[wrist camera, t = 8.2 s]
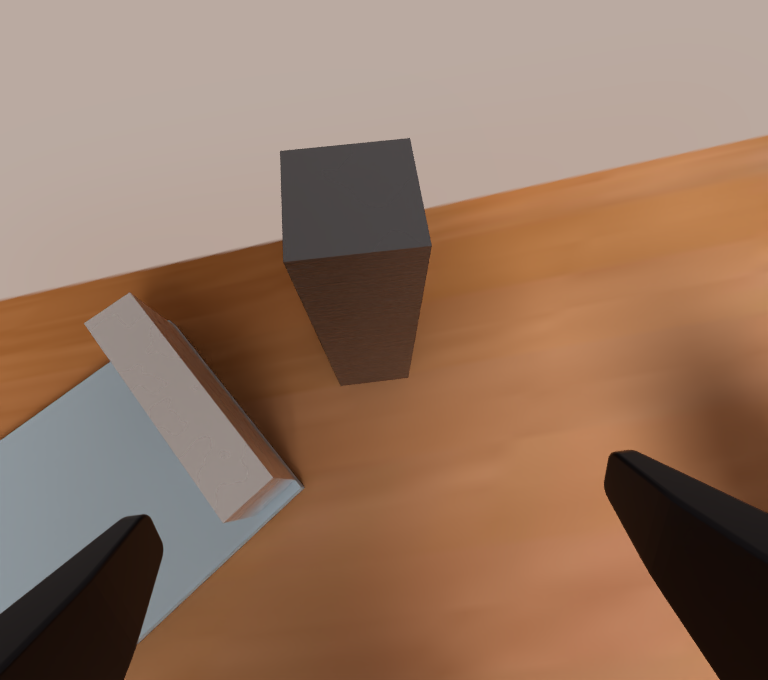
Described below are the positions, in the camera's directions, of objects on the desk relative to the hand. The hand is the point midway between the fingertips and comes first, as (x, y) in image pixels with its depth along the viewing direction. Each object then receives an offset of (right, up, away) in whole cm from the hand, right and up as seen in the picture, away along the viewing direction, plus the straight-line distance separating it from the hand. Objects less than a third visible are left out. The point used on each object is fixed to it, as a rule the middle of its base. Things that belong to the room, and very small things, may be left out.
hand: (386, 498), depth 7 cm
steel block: (-1, +3, +16) cm, 16 cm away
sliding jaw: (-10, -1, +13) cm, 17 cm away
